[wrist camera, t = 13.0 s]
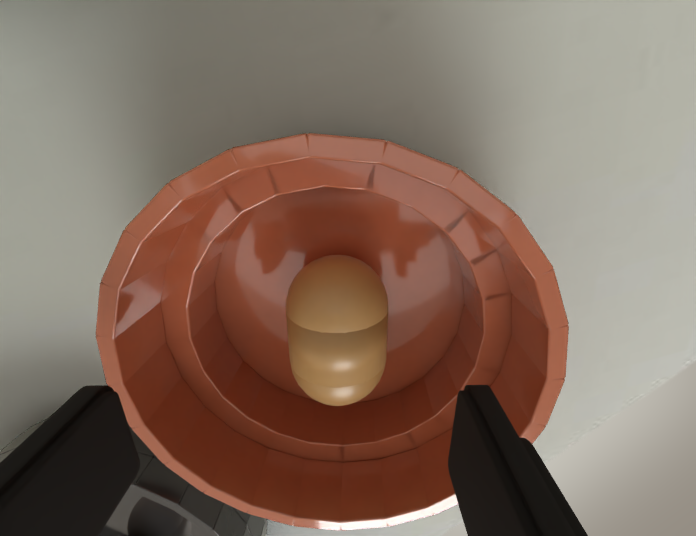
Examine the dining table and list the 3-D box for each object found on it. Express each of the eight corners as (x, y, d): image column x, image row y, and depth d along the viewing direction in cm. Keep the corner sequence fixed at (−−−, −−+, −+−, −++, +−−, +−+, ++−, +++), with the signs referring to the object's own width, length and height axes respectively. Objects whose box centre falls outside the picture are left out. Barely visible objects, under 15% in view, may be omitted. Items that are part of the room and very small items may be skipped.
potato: (293, 241, 15) (269, 277, 11) (386, 242, 15) (395, 278, 11) (301, 362, 17) (283, 428, 13) (381, 364, 17) (387, 430, 13)
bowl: (125, 228, 15) (-9, 276, 10) (430, 68, 13) (484, 9, 7) (281, 446, 20) (251, 563, 15) (529, 365, 17) (609, 470, 12)
